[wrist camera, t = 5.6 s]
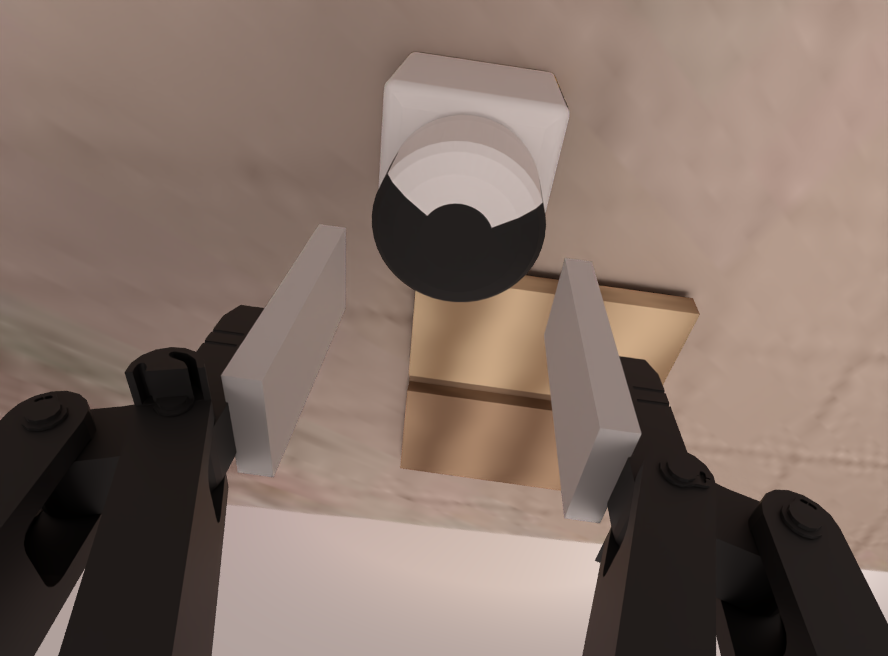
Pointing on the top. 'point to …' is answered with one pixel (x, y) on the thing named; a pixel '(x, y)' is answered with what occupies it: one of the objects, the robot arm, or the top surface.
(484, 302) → the plank
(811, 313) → the top surface
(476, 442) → the laid board
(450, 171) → the medicine bottle
